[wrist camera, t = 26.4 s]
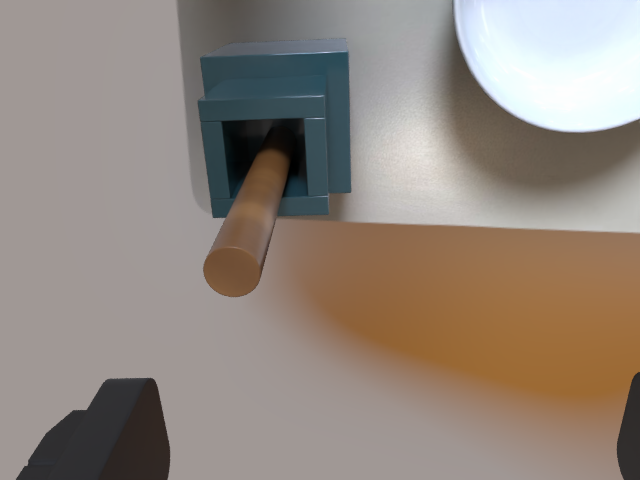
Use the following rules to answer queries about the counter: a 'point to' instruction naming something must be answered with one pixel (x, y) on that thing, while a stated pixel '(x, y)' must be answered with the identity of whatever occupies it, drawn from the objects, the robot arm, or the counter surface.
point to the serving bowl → (555, 59)
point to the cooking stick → (251, 219)
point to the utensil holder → (278, 118)
